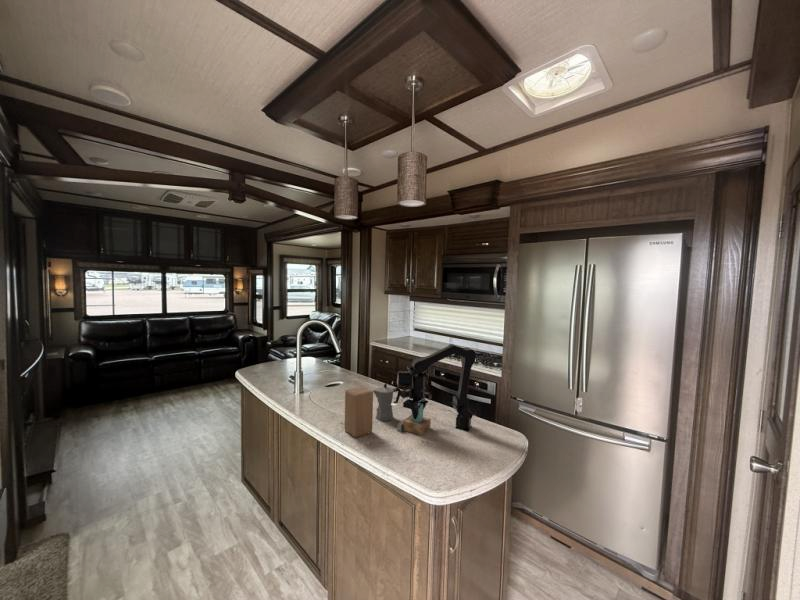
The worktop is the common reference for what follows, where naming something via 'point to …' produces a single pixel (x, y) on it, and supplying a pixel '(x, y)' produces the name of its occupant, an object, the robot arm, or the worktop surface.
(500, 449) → the worktop surface
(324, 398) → the worktop surface
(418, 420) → the turquoise rectangular prism
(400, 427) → the backstop wall
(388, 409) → the coffeepot
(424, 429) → the socket block
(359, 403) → the block
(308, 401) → the worktop surface
